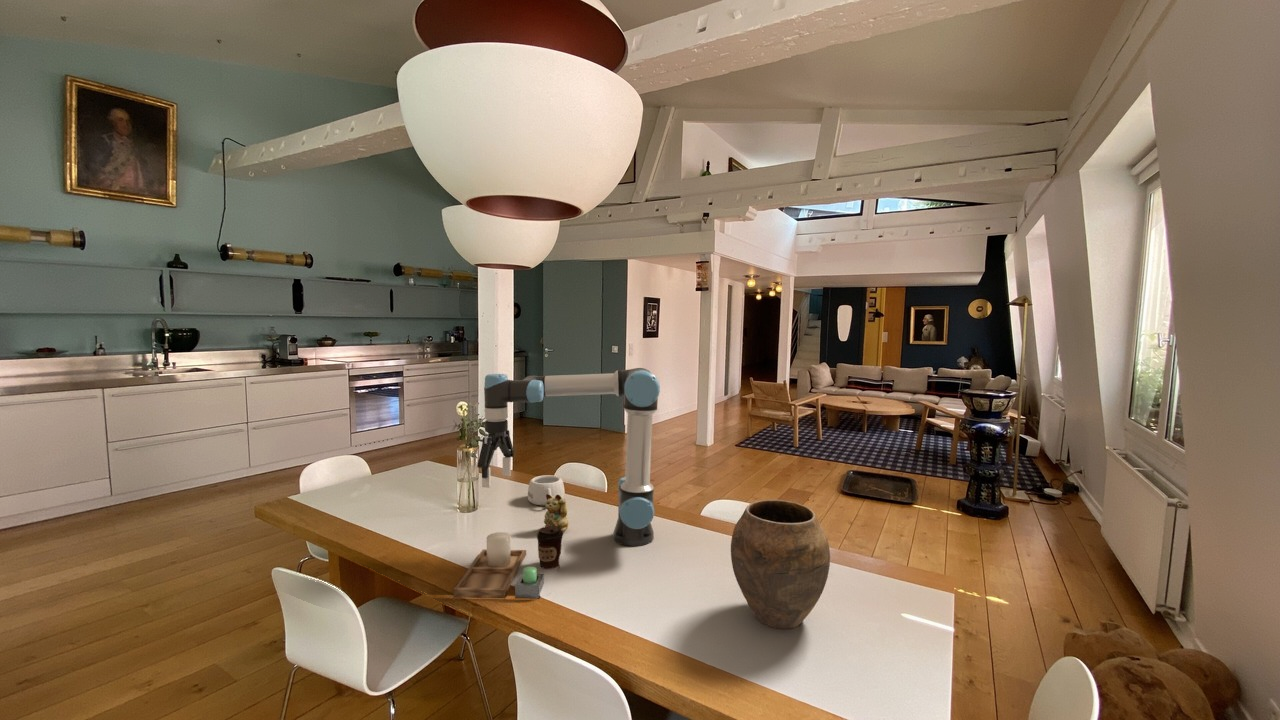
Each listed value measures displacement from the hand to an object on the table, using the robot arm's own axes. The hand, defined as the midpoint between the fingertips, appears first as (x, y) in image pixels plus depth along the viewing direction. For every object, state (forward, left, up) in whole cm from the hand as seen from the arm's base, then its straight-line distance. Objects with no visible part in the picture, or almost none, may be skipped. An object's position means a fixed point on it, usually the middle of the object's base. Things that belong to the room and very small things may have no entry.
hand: (496, 481), depth 177 cm
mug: (-6, -55, -27) cm, 62 cm away
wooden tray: (-2, +14, -26) cm, 30 cm away
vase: (-87, +35, -27) cm, 98 cm away
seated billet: (-2, +7, -25) cm, 26 cm away
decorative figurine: (-16, -23, -27) cm, 39 cm away
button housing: (-16, +24, -26) cm, 39 cm away
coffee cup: (-19, +8, -27) cm, 34 cm away
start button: (-16, +24, -24) cm, 38 cm away
